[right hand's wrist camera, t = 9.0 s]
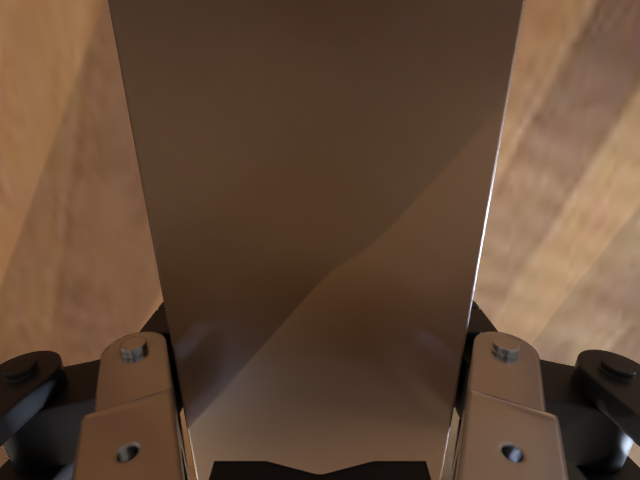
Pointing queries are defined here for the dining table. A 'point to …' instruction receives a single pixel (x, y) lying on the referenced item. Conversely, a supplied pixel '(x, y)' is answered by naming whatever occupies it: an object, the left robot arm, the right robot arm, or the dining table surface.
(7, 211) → the dining table surface
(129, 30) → the box
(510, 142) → the dining table surface
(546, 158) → the dining table surface
